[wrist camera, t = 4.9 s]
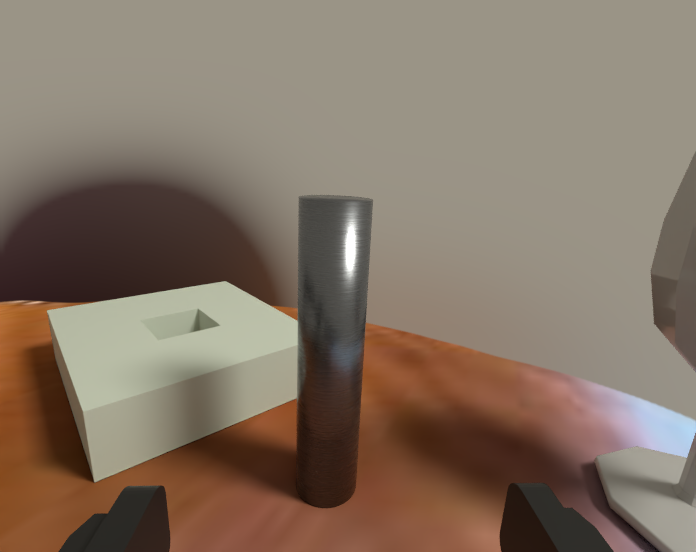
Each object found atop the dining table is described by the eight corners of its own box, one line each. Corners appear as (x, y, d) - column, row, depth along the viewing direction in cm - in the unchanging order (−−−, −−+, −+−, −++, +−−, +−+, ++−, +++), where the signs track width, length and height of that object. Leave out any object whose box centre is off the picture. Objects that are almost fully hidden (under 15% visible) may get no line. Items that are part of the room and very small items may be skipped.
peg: (320, 519, 20) (330, 202, 16) (284, 479, 22) (284, 195, 18) (368, 486, 22) (388, 200, 18) (330, 453, 25) (340, 194, 20)
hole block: (94, 482, 22) (82, 411, 20) (55, 358, 34) (46, 310, 33) (323, 386, 32) (324, 336, 31) (227, 318, 45) (225, 281, 44)
